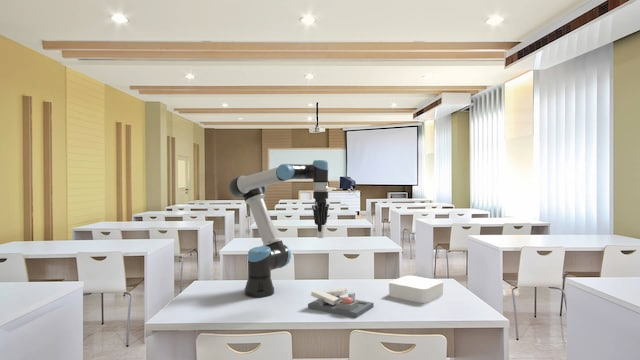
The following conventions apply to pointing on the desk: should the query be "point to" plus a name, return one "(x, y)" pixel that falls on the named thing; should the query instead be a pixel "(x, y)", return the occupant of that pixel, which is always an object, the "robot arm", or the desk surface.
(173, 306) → the desk surface
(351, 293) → the block
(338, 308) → the panel
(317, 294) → the block
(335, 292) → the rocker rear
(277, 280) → the desk surface
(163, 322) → the desk surface
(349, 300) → the button
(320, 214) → the robot arm
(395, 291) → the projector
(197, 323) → the desk surface
